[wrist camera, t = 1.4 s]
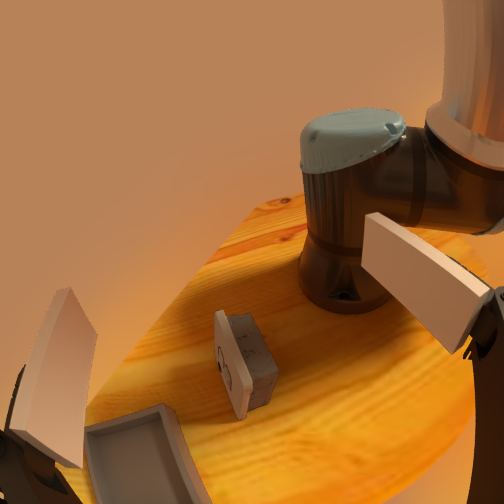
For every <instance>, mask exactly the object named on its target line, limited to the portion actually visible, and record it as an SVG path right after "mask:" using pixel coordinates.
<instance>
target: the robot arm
mask: <svg viewBox="0 0 504 504" xmlns="http://www.w3.org/2000/svg"><path fill="white" fill-rule="evenodd" d="M443 11H444V32H445V58H444V78H443V91H442V100H441V101H439V102H437V103H435V104H433V105H431V106H430V107H429V108H428V109H427V112H426V120H425V126H424V128H419V127H408V126H406V123H405V122H404V119H403V117H402V116H401V115H400V114H398V113H397V112H394V111H390V110H382V109H381V110H378V109H375V108H362V109H351V110H344V111H338V112H333V113H330V114H326V115H324V116H321V117H318V118H316V119H314V120H313V121H311V122H309V123H308V124H307V125H306V126H305V127H304V129H303V130H302V132H301V137H300V147H301V161H300V168H301V170H302V174H303V184H304V193H305V204H306V215H307V227H308V234H307V237H306V241H305V244H304V248H303V251H302V252H301V255H300V258H299V262H298V273H299V282H300V285H301V288H302V290H303V292H304V293H305V294H306V296H307V297H308V298H309V299H310V300H311V301H312V302H314V303H315V304H317V305H318V306H320V307H322V308H324V309H326V310H329V311H332V312H336V313H341V314H359V313H365V312H368V311H371V310H374V309H376V308H378V307H379V306H381V305H382V304H384V303H385V302H386V301H387V300H388V299H389V298H390V297H391V295H393V296H394V297H395V298H396V299H397V300H398V301H399V302H400V303H401V304H402V305H403V306H404V307H406V308H407V309H408V310H409V311H410V312H411V313H412V314H413V315H414V316H415V317H416V318H417V319H418V320H419V321H420V322H421V323H422V324H423V325H424V326H425V327H426V328H427V330H428V331H429V332H430V333H431V334H432V335H433V336H434V337H435V338H436V339H437V340H438V341H439V342H440V343H441V344H442V345H443V346H444V347H445V348H446V349H447V351H448V352H449V353H450V354H451V355H452V354H453V353H455V352H456V351H457V350H458V349H460V348H461V347H462V346H463V345H464V343H465V341H466V339H467V337H468V336H469V335H470V336H471V337H472V338H473V339H472V340H471V342H470V344H469V346H468V348H467V349H466V351H465V353H464V354H463V359H466V357H467V355H468V354H469V352H470V351H471V354H470V356H469V358H468V360H472V363H473V373H474V385H475V407H476V428H475V448H474V460H473V469H472V476H471V483H470V489H469V494H468V499H467V504H504V286H503V287H498V288H497V289H496V290H494V289H493V288H492V287H490V286H489V285H488V284H487V283H485V282H484V281H483V280H481V279H480V278H479V277H478V276H476V275H475V274H474V273H472V272H471V271H470V270H469V271H468V269H467V268H466V267H464V266H463V265H462V266H461V264H460V263H459V262H457V261H456V260H454V259H453V258H452V257H449V256H447V255H444V254H443V253H442V252H440V251H439V250H437V249H436V248H434V247H433V246H431V245H430V244H428V243H427V242H425V241H424V240H422V239H421V238H419V237H418V236H416V235H414V234H413V233H411V232H410V231H408V230H407V229H405V228H403V227H414V228H424V229H432V230H441V231H449V232H457V233H465V234H471V235H476V236H478V235H485V234H489V235H493V234H498V233H501V232H502V231H504V0H443ZM402 226H403V227H402ZM97 335H98V334H97V333H96V331H95V330H94V328H93V326H92V325H91V323H90V321H89V320H88V318H87V316H86V315H85V313H84V311H83V309H82V307H81V306H80V304H79V302H78V300H77V298H76V296H75V295H74V293H73V291H72V289H71V288H70V287H69V288H65V289H61V290H57V292H56V294H55V296H54V298H53V300H52V302H51V304H50V306H49V309H48V311H47V313H46V315H45V317H44V320H43V322H42V325H41V327H40V329H39V331H38V334H37V336H36V339H35V342H34V344H33V347H32V350H31V352H30V355H29V358H28V361H27V364H25V365H24V367H23V368H22V370H21V372H20V373H19V375H18V378H17V381H16V384H15V388H14V391H13V394H12V396H13V398H11V402H10V406H9V410H8V414H7V418H6V423H5V428H4V432H3V431H2V430H0V492H2V493H3V494H4V499H1V498H0V504H83V503H82V502H81V501H80V499H79V498H78V497H77V495H76V494H75V492H74V491H73V490H72V488H71V487H70V485H69V484H68V482H67V481H66V479H65V478H64V476H63V475H62V473H61V472H60V471H59V470H58V469H57V468H56V467H55V461H56V462H58V463H60V464H61V465H63V466H65V467H69V468H79V469H83V441H84V425H85V413H86V402H87V394H88V387H89V380H90V373H91V367H92V361H93V355H94V350H95V345H96V340H97Z"/></svg>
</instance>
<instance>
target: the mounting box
mask: <svg viewBox="0 0 504 504" xmlns="http://www.w3.org/2000/svg"><path fill="white" fill-rule="evenodd" d="M83 445H84V450H85V456H86V461H87V465H88V470H89V474H90V479H91V483H92V486H93V490H94V494H95V497H96V501H97V504H213V503H212V501H211V499H210V497H209V495H208V493H207V491H206V489H205V487H204V485H203V482H202V480H201V478H200V476H199V473H198V471H197V469H196V466H195V464H194V462H193V459H192V457H191V454H190V452H189V449H188V447H187V444H186V442H185V439H184V436H183V434H182V431H181V428H180V425H179V422H178V420H177V417H176V414H175V411H174V410H173V409H171V408H170V407H168V406H167V405H166V404H164V403H162V404H159V405H156V406H154V407H151V408H148V409H145V410H142V411H139V412H136V413H132V414H129V415H126V416H123V417H120V418H116V419H113V420H109V421H106V422H102V423H98V424H95V425H91V426H87V427H84V441H83Z"/></svg>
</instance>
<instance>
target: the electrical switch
mask: <svg viewBox="0 0 504 504" xmlns="http://www.w3.org/2000/svg"><path fill="white" fill-rule="evenodd" d="M250 321H251V322H250ZM214 344H215V358H216V362H217V365H218V368H219V371H220V373H221V376H222V379H223V382H224V385H225V387H226V390H227V393H228V396H229V398H230V401H231V404H232V406H233V409H234V411H235V414H236V416H237V419H238V420H241V419H245V418H246V417H247V415H246V413H247V411H249V410H253V409H255V408H257V407H260V406H264V405H267V404H268V403H269V400H270V397H271V395H272V392H273V389H274V386H275V383H276V380H277V377H278V374H279V369H278V367H277V365H276V363H275V361H274V359H273V357H272V355H271V353H270V351H269V349H268V347H267V345H266V343H265V341H264V339H263V337H262V335H261V333H260V331H259V329H258V327H257V325H256V323H255V321H254V319H253V317H252V315H251V313H246V314H242V315H231V316H226V315H225V313H224V310H220V311H217V312H214ZM257 352H258V353H257ZM268 358H269V359H268ZM276 372H277V373H276ZM272 373H273V374H272Z"/></svg>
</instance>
